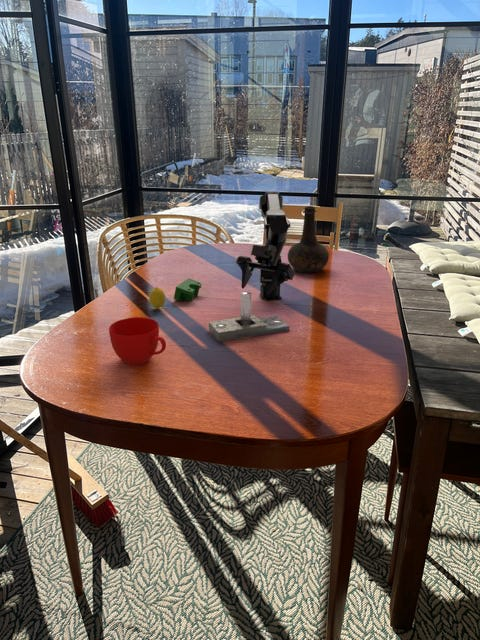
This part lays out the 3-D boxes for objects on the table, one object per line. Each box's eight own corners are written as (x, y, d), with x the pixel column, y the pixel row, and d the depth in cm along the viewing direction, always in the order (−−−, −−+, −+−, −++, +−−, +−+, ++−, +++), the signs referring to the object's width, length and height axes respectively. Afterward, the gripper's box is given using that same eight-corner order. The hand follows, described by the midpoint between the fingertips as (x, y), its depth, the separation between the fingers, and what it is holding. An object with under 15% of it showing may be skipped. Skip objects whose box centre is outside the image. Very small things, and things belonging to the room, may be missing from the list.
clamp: (188, 312, 174) (188, 295, 167) (173, 307, 175) (173, 289, 168) (202, 292, 182) (203, 274, 175) (188, 286, 183) (188, 269, 176)
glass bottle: (333, 268, 213) (338, 205, 203) (317, 278, 200) (322, 211, 189) (297, 263, 222) (301, 202, 212) (280, 272, 208) (282, 207, 198)
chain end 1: (254, 323, 153) (254, 314, 152) (266, 334, 145) (266, 324, 144) (208, 330, 147) (208, 321, 146) (218, 341, 140) (218, 331, 139)
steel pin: (248, 328, 149) (248, 290, 145) (252, 332, 146) (252, 294, 142) (238, 329, 148) (239, 292, 143) (242, 333, 145) (243, 295, 141)
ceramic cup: (149, 380, 118) (146, 343, 115) (102, 363, 127) (98, 329, 123) (182, 360, 129) (180, 326, 125) (136, 345, 137) (133, 313, 133)
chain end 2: (276, 320, 156) (276, 315, 155) (289, 330, 148) (289, 325, 147) (225, 328, 149) (225, 323, 149) (235, 339, 142) (235, 333, 141)
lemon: (169, 307, 166) (167, 286, 163) (160, 312, 161) (158, 290, 158) (155, 305, 168) (154, 283, 165) (146, 310, 164) (145, 288, 161)
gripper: (239, 230, 150) (219, 272, 145) (291, 238, 141) (272, 283, 136) (251, 250, 159) (233, 290, 155) (301, 258, 150) (284, 300, 145)
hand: (254, 290), depth 147 cm, fingers open, 9 cm apart
